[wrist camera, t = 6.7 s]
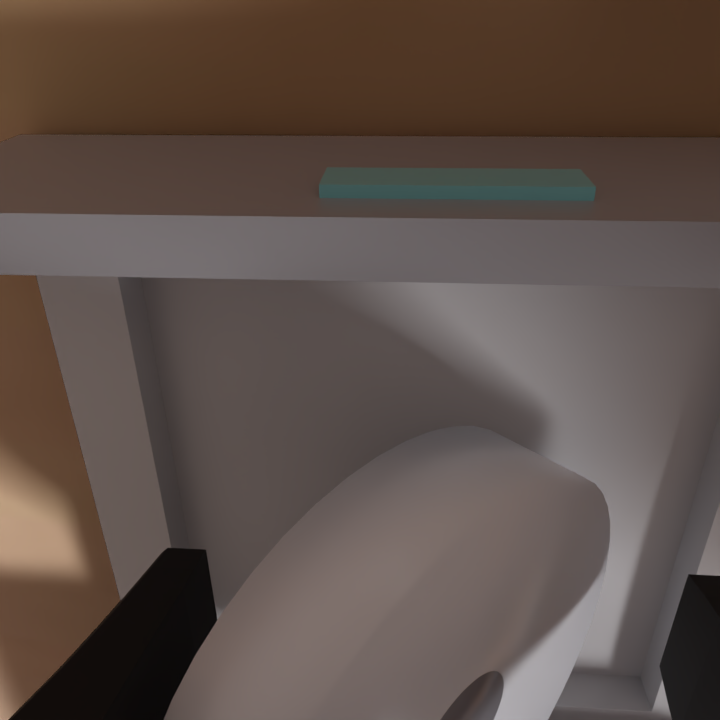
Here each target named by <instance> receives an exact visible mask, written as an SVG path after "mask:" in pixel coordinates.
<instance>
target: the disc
mask: <svg viewBox="0 0 720 720" xmlns="http://www.w3.org/2000/svg"><path fill="white" fill-rule="evenodd" d="M609 545H610V518H609V511H608V506H607V503H606V500H605V498H604V495H603V493H602V492H601V490H600V489H599V488H598V487H597V485H596V484H595V483H593V482H591V481H590V480H588V479H586V478H585V477H583V476H581V475H579V474H577V473H575V472H573V471H571V470H569V469H567V468H565V467H563V466H561V465H559V464H557V463H555V462H553V461H551V460H549V459H547V458H545V457H543V456H541V455H539V454H537V453H535V452H533V451H531V450H529V449H527V448H525V447H523V446H521V445H519V444H517V443H515V442H513V441H511V440H509V439H507V438H505V437H503V436H502V435H500V434H498V433H496V432H494V431H492V430H489V429H485V428H481V427H477V426H452V427H447V428H442V429H438V430H433V431H430V432H427V433H425V434H422V435H420V436H417V437H414V438H412V439H409V440H407V441H405V442H403V443H401V444H399V445H397V446H395V447H394V448H392V449H390V450H388V451H386V452H385V453H383V454H381V455H379V456H377V457H376V458H374V459H373V460H372V461H370V462H369V463H367V464H366V465H364V466H363V467H362V468H360V469H359V470H357V471H356V472H354V473H353V474H351V475H350V476H349V477H347V478H346V479H345V480H344V481H342V482H341V483H340V484H339V485H338V486H336V487H335V488H334V489H333V490H332V491H331V492H329V493H328V494H327V495H326V496H325V497H323V498H322V499H321V500H320V501H319V502H318V503H316V504H315V505H314V506H313V507H312V508H311V509H310V510H309V511H308V512H307V513H306V514H305V515H304V516H303V517H302V518H301V519H300V520H299V521H298V522H297V523H296V524H295V525H294V526H293V527H292V528H291V529H290V530H289V531H288V532H287V533H286V534H285V535H284V536H283V537H282V538H281V539H280V541H279V542H278V543H277V544H276V545H275V546H274V548H273V549H272V550H271V551H270V552H269V553H268V555H267V556H266V557H265V558H264V559H263V560H262V561H261V563H260V564H259V565H258V566H257V567H256V568H255V570H254V571H253V572H252V573H251V574H250V576H249V577H248V578H247V580H246V581H245V583H244V584H243V585H242V587H241V588H240V589H239V591H238V592H237V593H236V595H235V596H234V597H233V599H232V600H231V601H230V603H229V604H228V606H227V607H226V608H225V610H224V611H223V612H222V614H221V615H220V617H219V618H218V620H217V622H216V623H215V625H214V626H213V628H212V629H211V631H210V633H209V634H208V636H207V637H206V639H205V641H204V642H203V644H202V645H201V647H200V649H199V650H198V652H197V653H196V655H195V657H194V658H193V660H192V662H191V664H190V666H189V668H188V670H187V672H186V674H185V676H184V678H183V679H182V681H181V683H180V685H179V687H178V689H177V691H176V693H175V695H174V697H173V699H172V701H171V703H170V706H169V708H168V710H167V713H166V715H165V718H164V720H548V719H549V717H550V715H551V713H552V711H553V709H554V707H555V705H556V703H557V701H558V699H559V697H560V695H561V693H562V691H563V689H564V687H565V684H566V682H567V680H568V678H569V676H570V674H571V672H572V669H573V667H574V665H575V662H576V660H577V657H578V655H579V653H580V650H581V648H582V646H583V643H584V640H585V638H586V635H587V632H588V630H589V627H590V624H591V621H592V618H593V615H594V612H595V609H596V606H597V603H598V600H599V596H600V592H601V588H602V585H603V581H604V576H605V571H606V566H607V561H608V554H609Z"/></svg>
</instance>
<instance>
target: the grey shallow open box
mask: <svg viewBox="0 0 720 720" xmlns="http://www.w3.org/2000/svg"><path fill="white" fill-rule="evenodd" d="M0 275H36V278H37V281H38V285H39V289H40V293H41V297H42V301H43V305H44V308H45V312H46V316H47V320H48V324H49V328H50V331H51V335H52V339H53V343H54V347H55V351H56V354H57V358H58V362H59V366H60V370H61V374H62V378H63V381H64V385H65V389H66V393H67V397H68V401H69V404H70V408H71V412H72V416H73V420H74V424H75V427H76V431H77V435H78V439H79V443H80V447H81V450H82V454H83V458H84V462H85V466H86V470H87V474H88V477H89V481H90V485H91V489H92V493H93V497H94V500H95V504H96V508H97V512H98V516H99V520H100V523H101V527H102V531H103V535H104V539H105V543H106V547H107V550H108V554H109V558H110V562H111V566H112V570H113V573H114V577H115V581H116V585H117V589H118V593H119V596H120V600H122V599H123V597H124V596H125V595H126V594H127V593H128V592H129V590H130V589H131V588H132V587H133V586H134V585H135V583H136V582H137V581H138V580H139V579H140V578H141V576H142V575H143V574H144V573H145V572H146V570H147V569H148V568H149V567H150V566H151V565H152V563H153V562H154V561H155V560H156V559H157V557H158V556H159V555H160V554H161V553H162V552H163V551H164V550H165V549H167V548H185V549H205V550H206V553H207V559H208V565H209V571H210V577H211V583H212V589H213V595H214V602H215V608H216V614H217V620H218V618H219V617H220V615H221V614H222V612H223V611H224V610H225V608H226V607H227V606H228V604H229V603H230V601H231V600H232V599H233V597H234V596H235V595H236V593H237V592H238V591H239V589H240V588H241V587H242V585H243V584H244V583H245V581H246V580H247V578H248V577H249V576H250V574H251V573H252V572H253V571H254V570H255V568H256V567H257V566H258V565H259V564H260V563H261V561H262V560H263V559H264V558H265V557H266V556H267V555H268V553H269V552H270V551H271V550H272V549H273V548H274V546H275V545H276V544H277V543H278V542H279V541H280V539H281V538H282V537H283V536H284V535H285V534H286V533H287V532H288V531H289V530H290V529H291V528H292V527H293V526H294V525H295V524H296V523H297V522H298V521H299V520H300V519H301V518H302V517H303V516H304V515H305V514H306V513H307V512H308V511H309V510H310V509H311V508H312V507H313V506H314V505H315V504H316V503H318V502H319V501H320V500H321V499H322V498H323V497H325V496H326V495H327V494H328V493H329V492H331V491H332V490H333V489H334V488H335V487H336V486H338V485H339V484H340V483H341V482H342V481H344V480H345V479H346V478H347V477H349V476H350V475H351V474H353V473H354V472H356V471H357V470H359V469H360V468H362V467H363V466H364V465H366V464H367V463H369V462H370V461H372V460H373V459H374V458H376V457H377V456H379V455H381V454H383V453H385V452H386V451H388V450H390V449H392V448H394V447H395V446H397V445H399V444H401V443H403V442H405V441H407V440H409V439H412V438H414V437H417V436H420V435H422V434H425V433H427V432H430V431H433V430H438V429H442V428H447V427H452V426H477V427H481V428H485V429H489V430H492V431H494V432H496V433H498V434H500V435H502V436H503V437H505V438H507V439H509V440H511V441H513V442H515V443H517V444H519V445H521V446H523V447H525V448H527V449H529V450H531V451H533V452H535V453H537V454H539V455H541V456H543V457H545V458H547V459H549V460H551V461H553V462H555V463H557V464H559V465H561V466H563V467H565V468H567V469H569V470H571V471H573V472H575V473H577V474H579V475H581V476H583V477H585V478H586V479H588V480H590V481H591V482H593V483H595V484H596V485H597V487H598V488H599V489H600V490H601V492H602V493H603V495H604V498H605V500H606V503H607V506H608V511H609V518H610V545H609V554H608V561H607V566H606V571H605V576H604V581H603V585H602V588H601V592H600V596H599V600H598V603H597V606H596V609H595V612H594V615H593V618H592V621H591V624H590V627H589V630H588V632H587V635H586V638H585V640H584V643H583V646H582V648H581V650H580V653H579V655H578V657H577V660H576V662H575V665H574V667H573V669H572V672H571V674H570V676H569V678H568V680H567V682H566V684H565V687H564V689H563V691H562V693H561V695H560V697H559V699H558V701H557V703H556V705H555V707H554V709H553V711H552V713H551V715H550V717H549V719H548V720H672V718H671V714H670V710H669V706H668V702H667V698H666V693H665V689H664V684H663V680H662V675H661V671H660V667H659V665H660V662H661V659H662V656H663V653H664V650H665V646H666V643H667V640H668V637H669V634H670V631H671V627H672V624H673V621H674V618H675V615H676V612H677V608H678V605H679V602H680V599H681V596H682V593H683V589H684V586H685V583H686V580H687V577H688V574H695V575H714V576H720V137H495V136H261V135H27V134H21V135H18V136H15V137H13V138H10V139H8V140H5V141H2V142H0Z"/></svg>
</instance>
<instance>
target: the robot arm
mask: <svg viewBox="0 0 720 720" xmlns="http://www.w3.org/2000/svg"><path fill="white" fill-rule="evenodd" d="M216 622H217V614H216V608H215V602H214V595H213V589H212V583H211V577H210V571H209V565H208V559H207V553H206V550H205V549H185V548H167V549H165V550H164V551H163V552H162V553H161V554H160V555H159V556H158V557H157V559H156V560H155V561H154V562H153V563H152V565H151V566H150V567H149V568H148V569H147V570H146V572H145V573H144V574H143V575H142V576H141V578H140V579H139V580H138V581H137V582H136V583H135V585H134V586H133V587H132V588H131V589H130V590H129V592H128V593H127V594H126V595H125V596H124V597H123V599H122V600H121V601H120V602H119V603H118V604H117V605H116V607H115V608H114V609H113V610H112V611H111V612H110V613H109V614H108V616H107V617H106V618H105V619H104V620H103V621H102V622H101V624H100V625H99V626H98V627H97V628H96V629H95V630H94V631H93V632H92V633H91V634H90V636H89V637H88V638H87V639H86V640H85V641H84V642H83V643H82V644H81V645H80V646H79V648H78V649H77V650H76V651H75V652H74V653H73V654H72V655H71V656H70V657H69V658H68V660H67V661H66V662H65V663H64V664H63V665H62V666H61V667H60V668H59V669H58V670H57V671H56V672H55V673H54V674H53V675H52V676H51V677H50V678H49V679H48V680H47V681H46V682H45V683H44V684H43V685H42V686H41V687H40V688H39V689H38V690H37V691H36V692H35V693H34V694H33V695H32V696H31V697H30V698H29V699H28V700H27V701H26V702H25V704H24V705H23V706H22V707H21V708H20V709H19V710H18V711H17V712H16V713H15V714H14V715H13V716H12V717H11V718H10V719H9V720H164V718H165V715H166V713H167V710H168V708H169V706H170V703H171V701H172V699H173V697H174V695H175V693H176V691H177V689H178V687H179V685H180V683H181V681H182V679H183V678H184V676H185V674H186V672H187V670H188V668H189V666H190V664H191V662H192V660H193V658H194V657H195V655H196V653H197V652H198V650H199V649H200V647H201V645H202V644H203V642H204V641H205V639H206V637H207V636H208V634H209V633H210V631H211V629H212V628H213V626H214V625H215V623H216ZM659 667H660V671H661V675H662V680H663V684H664V689H665V693H666V698H667V702H668V706H669V710H670V714H671V718H672V720H720V576H714V575H695V574H688V577H687V580H686V583H685V586H684V589H683V593H682V596H681V599H680V602H679V605H678V608H677V612H676V615H675V618H674V621H673V624H672V627H671V631H670V634H669V637H668V640H667V643H666V646H665V650H664V653H663V656H662V659H661V662H660V665H659Z"/></svg>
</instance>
